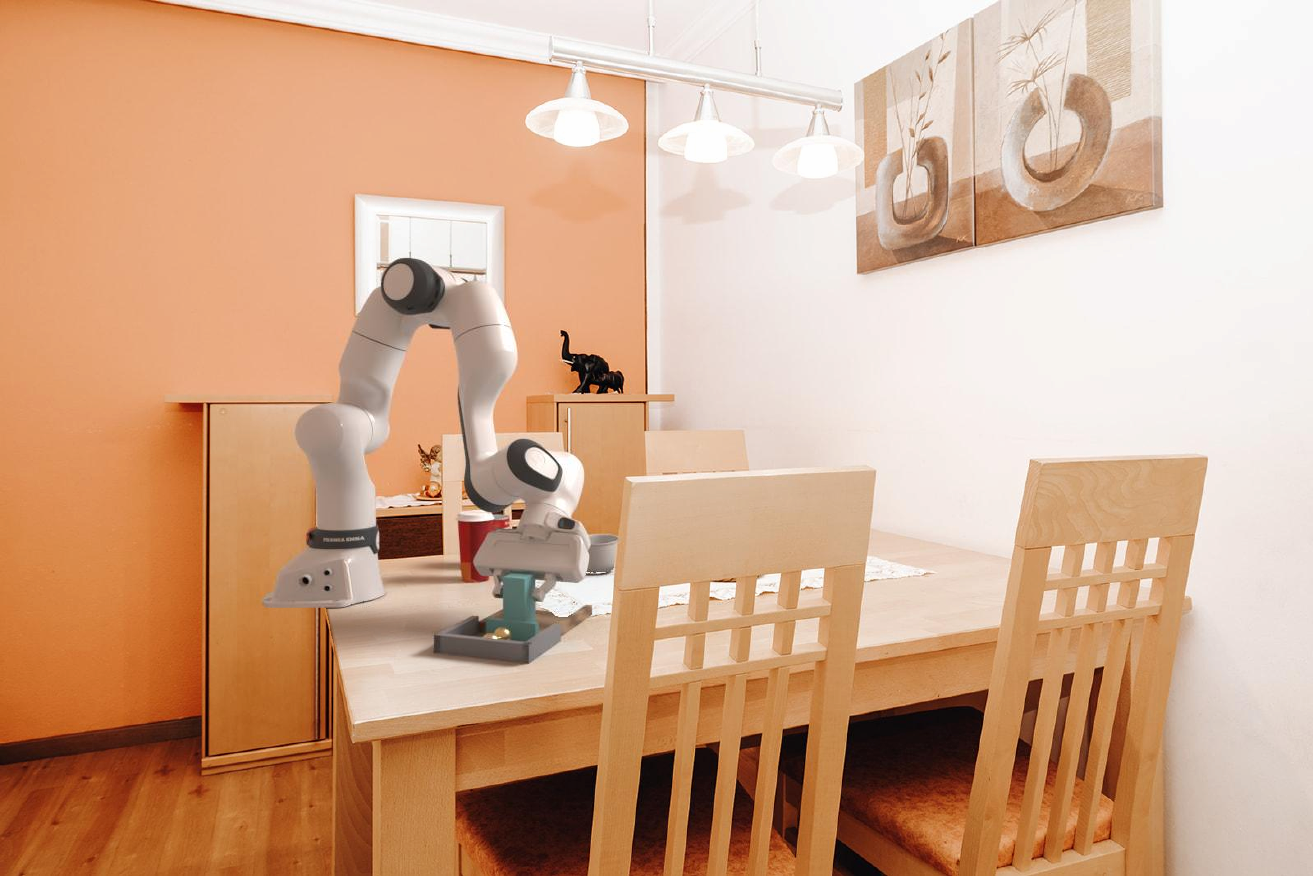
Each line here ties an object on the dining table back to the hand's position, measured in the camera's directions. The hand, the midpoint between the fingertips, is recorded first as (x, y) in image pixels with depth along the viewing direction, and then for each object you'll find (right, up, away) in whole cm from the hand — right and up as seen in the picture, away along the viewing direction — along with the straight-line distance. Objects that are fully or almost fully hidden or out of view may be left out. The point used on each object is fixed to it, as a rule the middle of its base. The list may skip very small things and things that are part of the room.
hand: (516, 598), depth 129 cm
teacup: (+9, -4, +52) cm, 53 cm away
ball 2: (-1, -5, -4) cm, 7 cm away
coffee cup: (-17, -5, +42) cm, 46 cm away
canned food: (-16, -4, +56) cm, 58 cm away
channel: (+2, -6, +8) cm, 10 cm away
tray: (-2, -7, -6) cm, 9 cm away
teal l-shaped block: (0, -6, +1) cm, 6 cm away
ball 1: (-2, -6, -7) cm, 9 cm away
